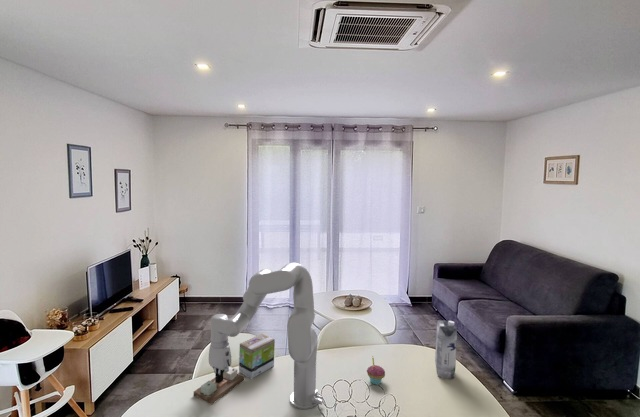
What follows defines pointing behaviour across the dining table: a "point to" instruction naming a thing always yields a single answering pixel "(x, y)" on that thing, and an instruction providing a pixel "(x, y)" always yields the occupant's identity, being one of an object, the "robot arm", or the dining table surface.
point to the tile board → (219, 390)
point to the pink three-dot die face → (221, 383)
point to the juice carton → (446, 349)
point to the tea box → (256, 355)
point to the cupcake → (375, 373)
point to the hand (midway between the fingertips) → (219, 381)
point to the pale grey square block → (208, 388)
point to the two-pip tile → (230, 373)
